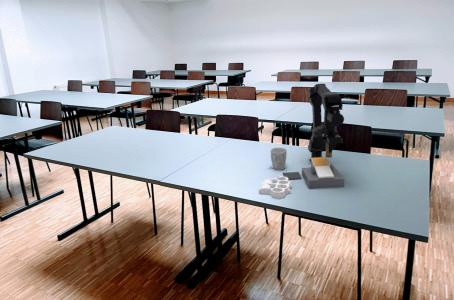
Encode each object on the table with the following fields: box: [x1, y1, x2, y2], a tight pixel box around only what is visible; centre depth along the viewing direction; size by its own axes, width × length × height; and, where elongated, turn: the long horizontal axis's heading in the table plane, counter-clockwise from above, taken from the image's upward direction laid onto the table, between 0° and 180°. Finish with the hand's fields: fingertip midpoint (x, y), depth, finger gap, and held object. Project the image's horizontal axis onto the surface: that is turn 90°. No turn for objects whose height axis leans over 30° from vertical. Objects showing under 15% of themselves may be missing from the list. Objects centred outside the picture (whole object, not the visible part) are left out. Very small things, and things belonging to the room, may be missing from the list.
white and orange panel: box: [310, 156, 334, 179], centre depth 164 cm, size 15×7×1 cm, turn 0°
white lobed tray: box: [258, 175, 294, 200], centre depth 159 cm, size 3×18×15 cm
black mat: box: [282, 171, 303, 181], centre depth 173 cm, size 8×8×1 cm
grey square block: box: [301, 163, 345, 190], centre depth 165 cm, size 16×16×8 cm
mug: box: [270, 147, 288, 170], centre depth 185 cm, size 11×8×10 cm
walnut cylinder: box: [325, 139, 333, 159], centre depth 166 cm, size 3×3×9 cm
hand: (328, 151), depth 167 cm, fingers closed on walnut cylinder, 3 cm apart
